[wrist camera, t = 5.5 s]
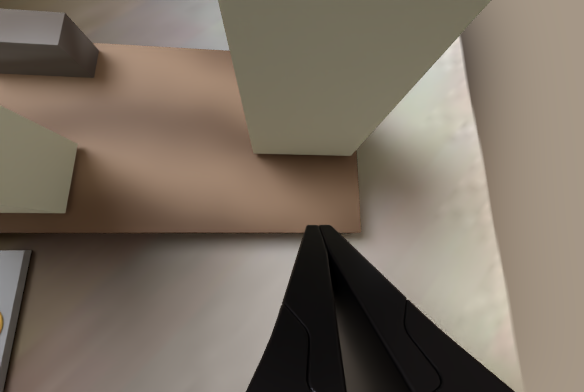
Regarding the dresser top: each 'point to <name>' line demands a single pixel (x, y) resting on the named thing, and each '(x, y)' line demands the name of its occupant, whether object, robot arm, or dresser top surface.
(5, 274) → the card
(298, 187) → the wooden base plate
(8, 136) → the button
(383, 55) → the button
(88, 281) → the dresser top surface
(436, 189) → the dresser top surface
